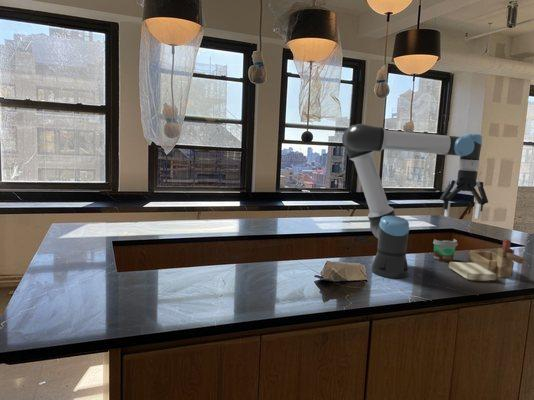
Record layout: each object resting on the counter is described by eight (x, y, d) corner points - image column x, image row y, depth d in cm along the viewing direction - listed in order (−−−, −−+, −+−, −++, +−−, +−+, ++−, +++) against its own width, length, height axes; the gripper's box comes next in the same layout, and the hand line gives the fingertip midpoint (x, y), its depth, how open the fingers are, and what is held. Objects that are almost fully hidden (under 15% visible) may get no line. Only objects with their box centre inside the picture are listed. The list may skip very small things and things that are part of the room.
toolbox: (492, 276, 166) (496, 249, 164) (467, 262, 186) (470, 238, 184) (517, 277, 167) (521, 250, 165) (490, 263, 186) (493, 239, 184)
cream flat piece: (466, 281, 160) (467, 273, 159) (448, 269, 175) (449, 261, 174) (495, 282, 160) (496, 274, 160) (474, 270, 175) (475, 262, 175)
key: (519, 263, 156) (521, 246, 155) (500, 255, 168) (502, 239, 167) (524, 263, 156) (527, 246, 155) (505, 255, 168) (508, 239, 167)
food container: (439, 263, 183) (442, 242, 181) (430, 259, 188) (433, 239, 187) (461, 262, 186) (464, 242, 184) (452, 258, 192) (454, 238, 190)
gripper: (443, 168, 166) (437, 217, 169) (501, 172, 166) (494, 220, 169) (435, 167, 174) (430, 214, 177) (491, 171, 174) (485, 217, 177)
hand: (461, 217), depth 173 cm, fingers open, 13 cm apart
